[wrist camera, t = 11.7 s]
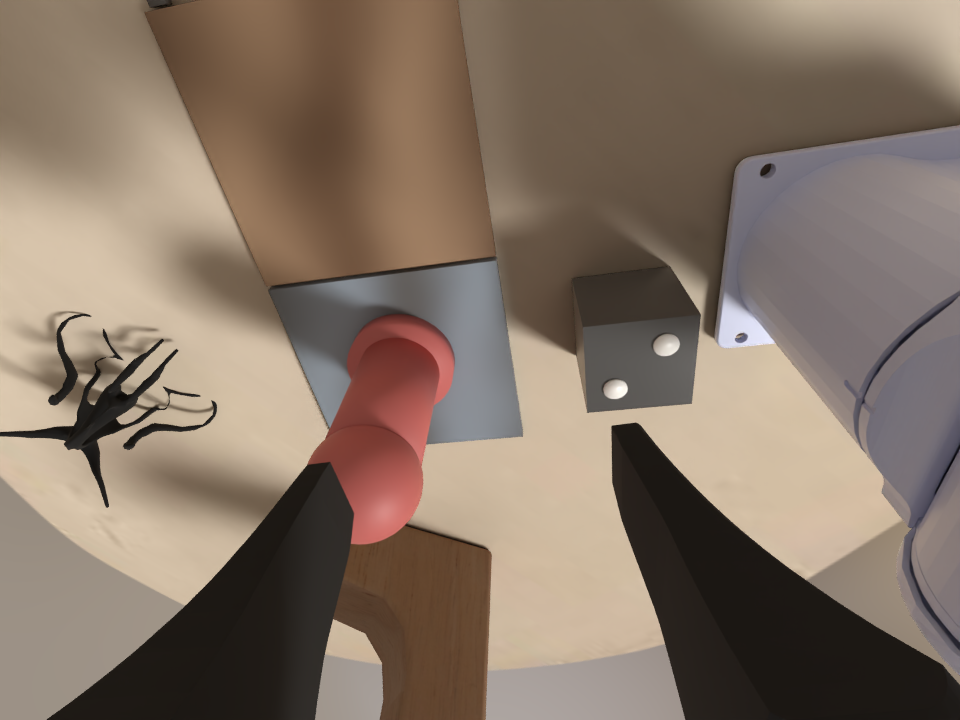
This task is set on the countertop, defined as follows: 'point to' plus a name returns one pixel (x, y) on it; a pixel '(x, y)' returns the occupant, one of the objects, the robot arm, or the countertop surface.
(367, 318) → the board
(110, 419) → the creature
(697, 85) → the countertop surface
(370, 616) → the wooden block
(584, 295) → the die
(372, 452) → the pawn
